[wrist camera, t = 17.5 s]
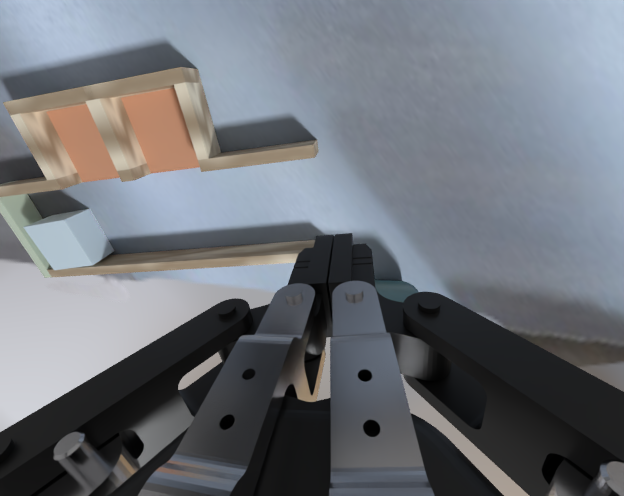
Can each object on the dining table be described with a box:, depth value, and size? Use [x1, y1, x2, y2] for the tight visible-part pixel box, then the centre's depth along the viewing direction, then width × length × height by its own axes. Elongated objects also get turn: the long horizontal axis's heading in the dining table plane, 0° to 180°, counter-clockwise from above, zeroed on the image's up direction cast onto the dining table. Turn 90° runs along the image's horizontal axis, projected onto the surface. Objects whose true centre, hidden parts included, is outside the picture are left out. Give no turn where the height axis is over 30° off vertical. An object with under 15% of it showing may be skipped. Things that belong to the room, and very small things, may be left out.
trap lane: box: [0, 67, 318, 278], centre depth 42 cm, size 26×50×4 cm, turn 98°
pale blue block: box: [24, 208, 114, 270], centre depth 48 cm, size 8×8×5 cm
